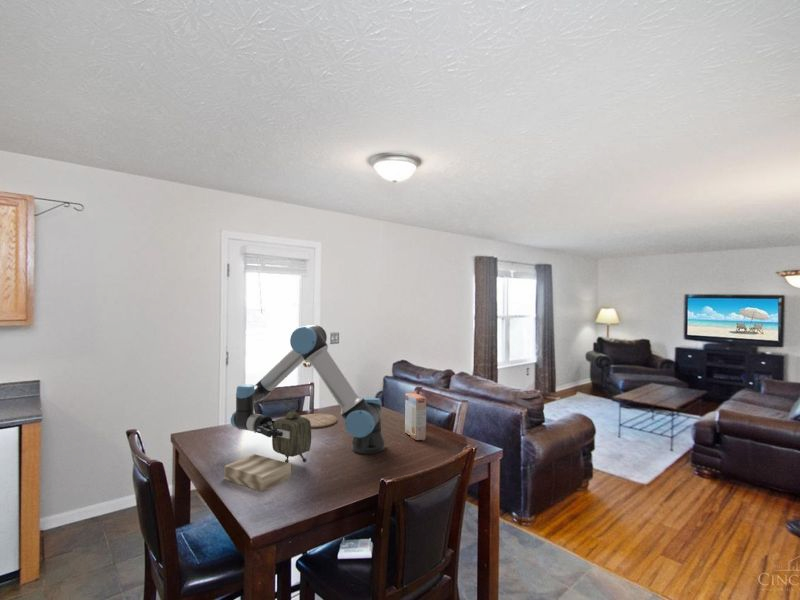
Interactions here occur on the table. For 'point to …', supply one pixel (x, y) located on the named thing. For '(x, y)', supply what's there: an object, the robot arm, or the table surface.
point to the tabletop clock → (293, 434)
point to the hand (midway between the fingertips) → (298, 431)
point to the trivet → (320, 420)
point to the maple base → (257, 472)
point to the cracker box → (415, 415)
